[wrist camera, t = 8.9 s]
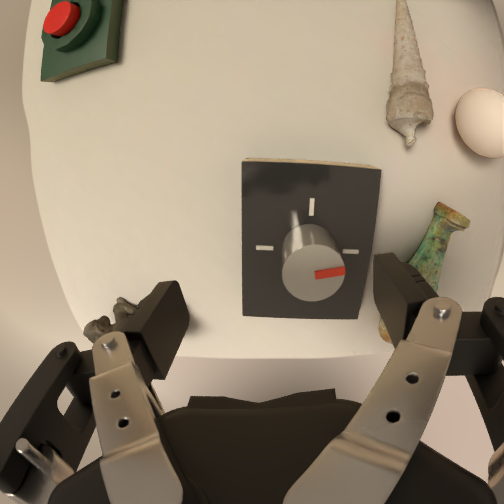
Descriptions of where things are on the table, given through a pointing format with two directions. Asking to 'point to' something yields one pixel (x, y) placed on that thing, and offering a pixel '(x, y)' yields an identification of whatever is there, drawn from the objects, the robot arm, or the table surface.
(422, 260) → the figurine
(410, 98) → the seashell
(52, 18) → the button
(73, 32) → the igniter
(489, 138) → the egg
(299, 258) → the knob
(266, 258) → the black dial control panel
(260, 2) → the table surface
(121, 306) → the grey animal-shaped piece
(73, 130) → the table surface
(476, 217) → the table surface
